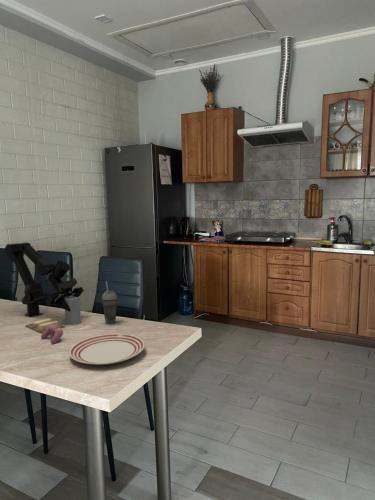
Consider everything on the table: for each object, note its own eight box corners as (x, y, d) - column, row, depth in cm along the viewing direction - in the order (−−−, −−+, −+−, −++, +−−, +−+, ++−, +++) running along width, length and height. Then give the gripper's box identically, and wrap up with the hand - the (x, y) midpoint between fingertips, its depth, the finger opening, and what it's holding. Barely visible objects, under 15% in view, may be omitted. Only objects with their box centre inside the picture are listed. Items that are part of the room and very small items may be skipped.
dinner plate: (112, 377, 122) (111, 367, 121) (53, 361, 135) (52, 352, 134) (159, 348, 145) (158, 340, 145) (104, 337, 159) (104, 329, 158)
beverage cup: (116, 325, 173) (115, 282, 171) (100, 325, 173) (99, 282, 171) (119, 320, 180) (118, 279, 178) (104, 320, 180) (103, 279, 178)
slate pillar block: (65, 323, 177) (64, 298, 175) (73, 320, 181) (72, 296, 179) (72, 325, 174) (71, 299, 173) (80, 322, 178) (79, 297, 177)
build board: (25, 326, 173) (25, 321, 172) (47, 320, 181) (47, 315, 181) (42, 333, 163) (41, 327, 163) (64, 327, 171) (64, 321, 171)
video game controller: (60, 346, 153) (66, 329, 154) (50, 344, 150) (57, 326, 151) (48, 340, 160) (55, 324, 161) (39, 338, 156) (45, 321, 158)
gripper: (48, 276, 169) (66, 304, 164) (80, 270, 184) (97, 295, 180) (38, 292, 174) (55, 318, 170) (70, 284, 190) (86, 308, 185)
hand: (74, 309), depth 176 cm, fingers closed on slate pillar block, 5 cm apart
